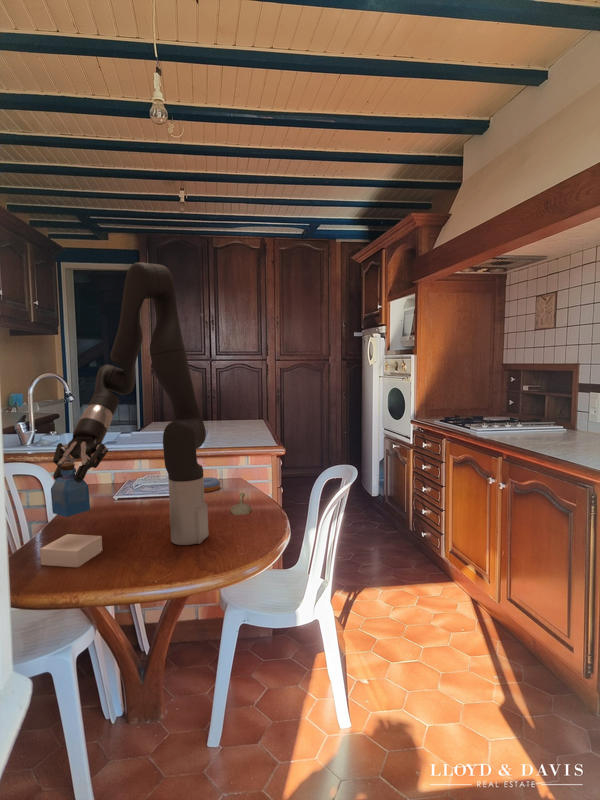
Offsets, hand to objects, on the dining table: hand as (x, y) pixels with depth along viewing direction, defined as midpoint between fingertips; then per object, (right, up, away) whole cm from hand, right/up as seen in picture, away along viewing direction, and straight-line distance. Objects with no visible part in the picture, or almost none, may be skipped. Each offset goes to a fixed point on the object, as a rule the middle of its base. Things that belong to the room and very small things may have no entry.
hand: (66, 480), depth 121 cm
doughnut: (+23, -14, +64) cm, 69 cm away
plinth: (+1, -20, +2) cm, 20 cm away
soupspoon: (+38, -16, +43) cm, 60 cm away
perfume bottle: (0, -8, +2) cm, 8 cm away
